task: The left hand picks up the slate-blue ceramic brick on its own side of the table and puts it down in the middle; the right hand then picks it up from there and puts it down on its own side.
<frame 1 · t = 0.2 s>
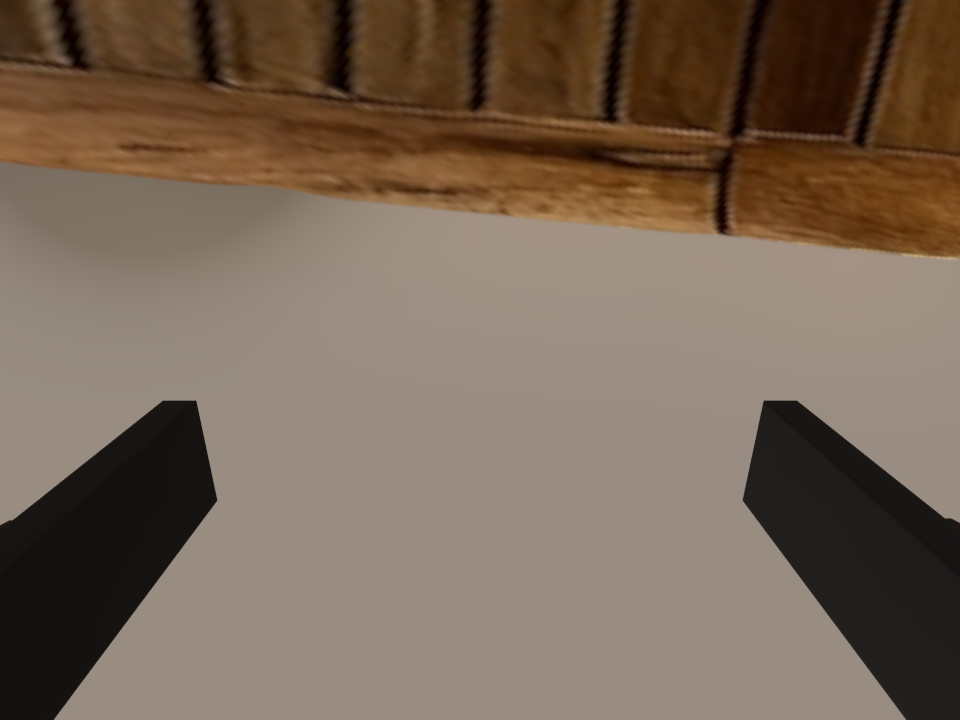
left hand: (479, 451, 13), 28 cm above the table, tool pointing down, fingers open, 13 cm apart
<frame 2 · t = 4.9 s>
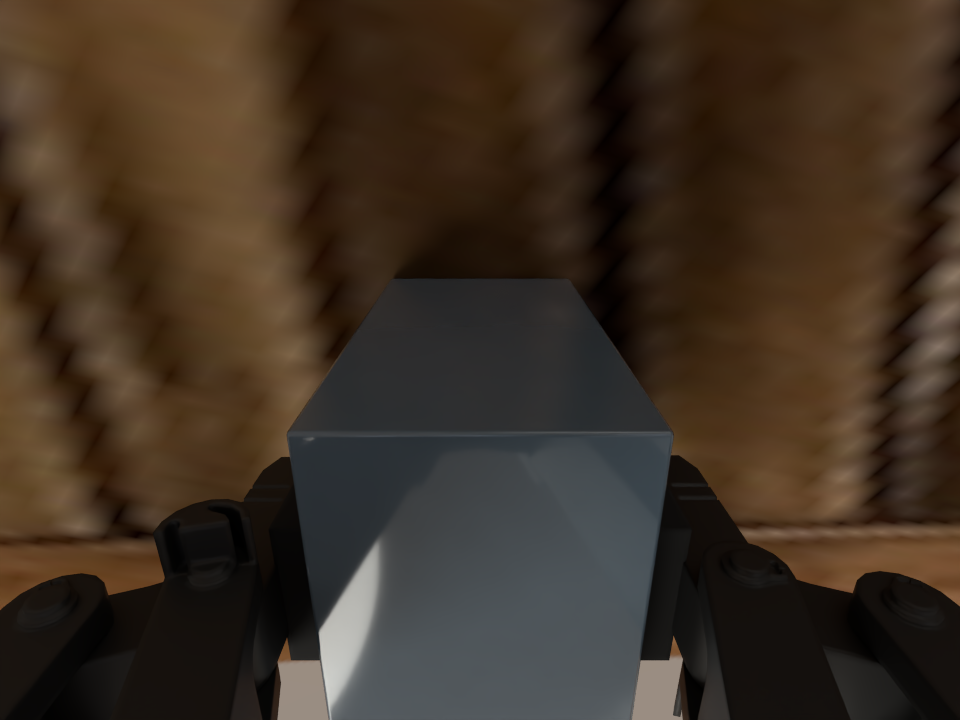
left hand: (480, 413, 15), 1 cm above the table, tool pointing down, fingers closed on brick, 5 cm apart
brick: (480, 391, 16), on the table, touching left hand
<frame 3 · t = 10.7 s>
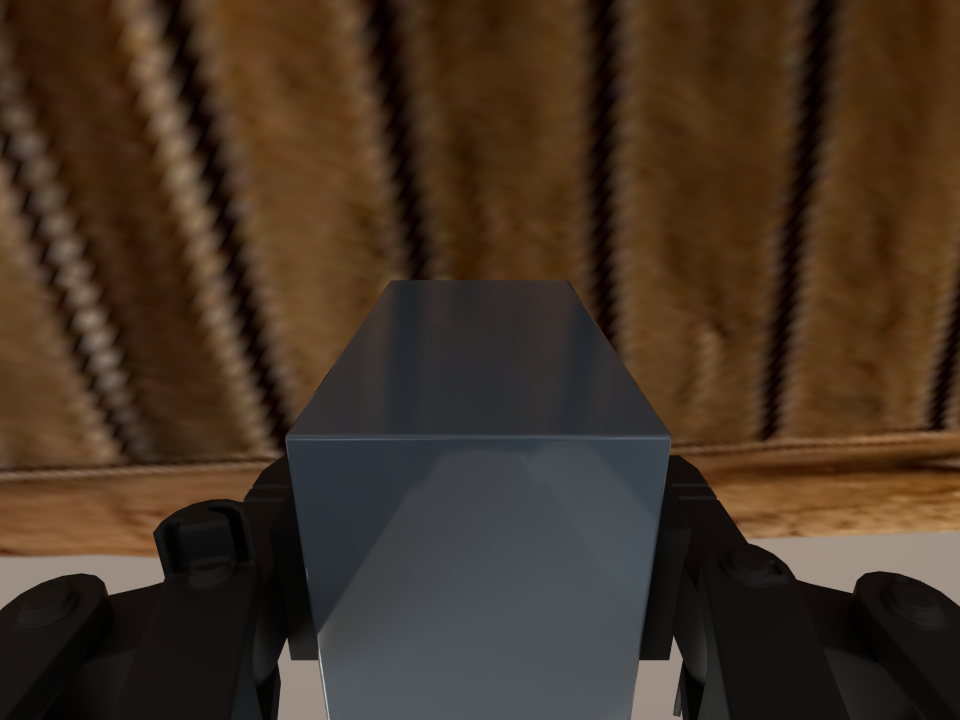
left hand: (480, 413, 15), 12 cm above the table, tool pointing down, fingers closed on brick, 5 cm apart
brick: (479, 392, 16), point 11 cm above the table, touching left hand
when the left hand's fingers open (3 cm above the table, at t = 16.6 s): brick drops 2 cm, on the table.
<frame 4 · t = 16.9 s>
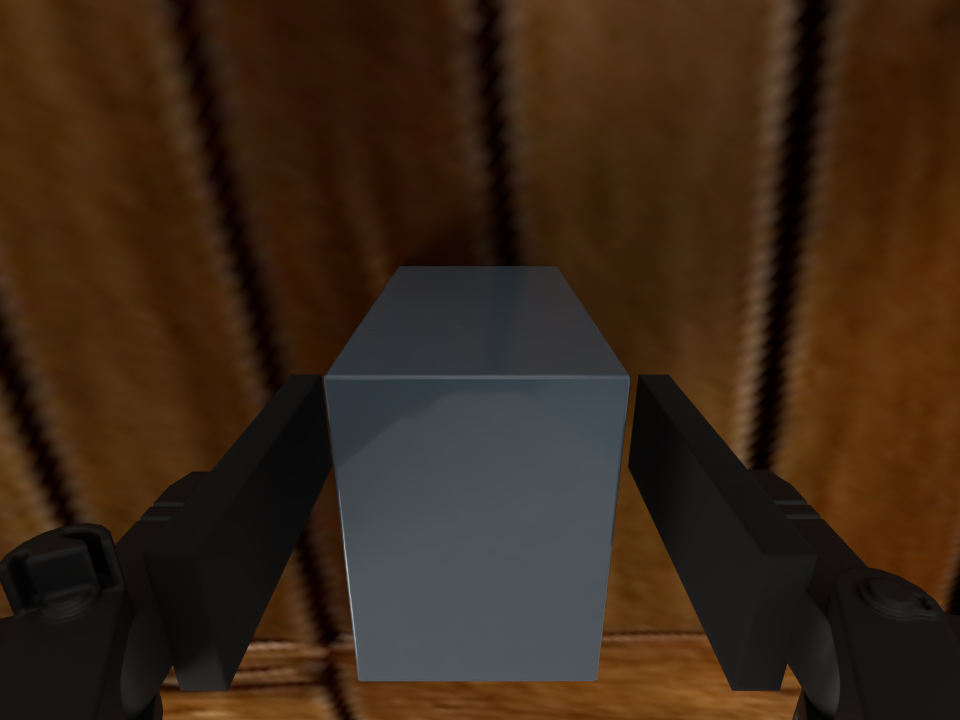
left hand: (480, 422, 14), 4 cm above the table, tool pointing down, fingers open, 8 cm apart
brick: (478, 368, 18), on the table
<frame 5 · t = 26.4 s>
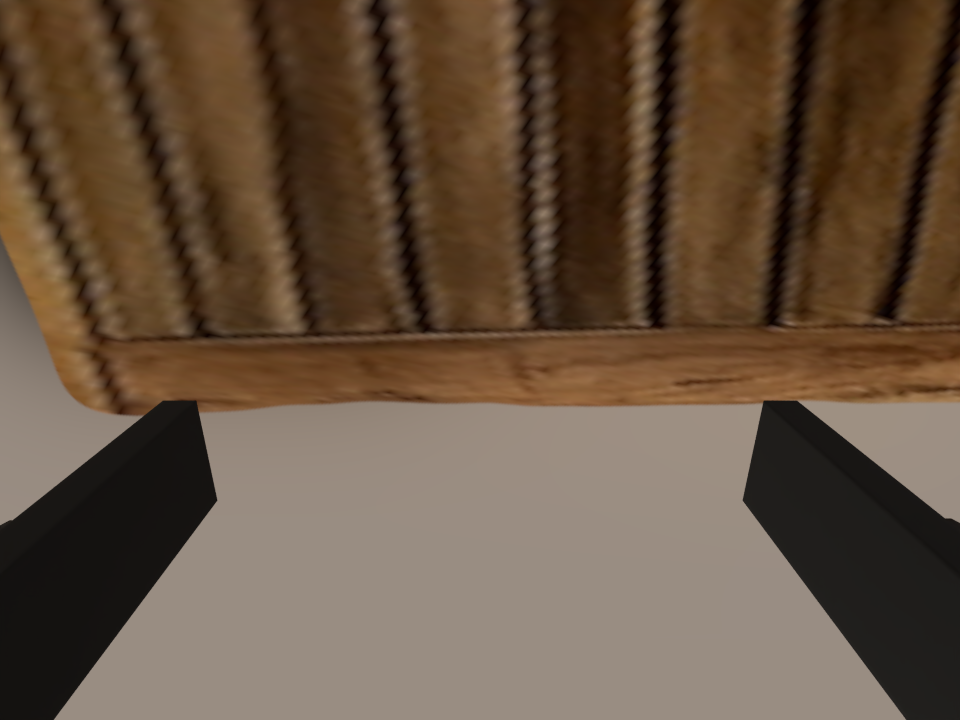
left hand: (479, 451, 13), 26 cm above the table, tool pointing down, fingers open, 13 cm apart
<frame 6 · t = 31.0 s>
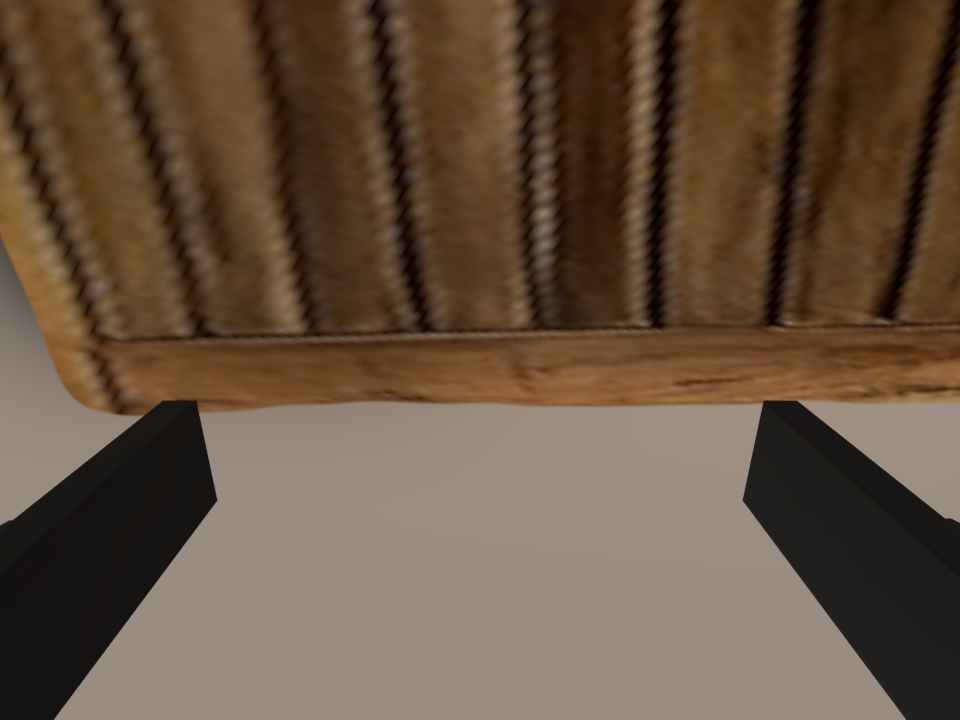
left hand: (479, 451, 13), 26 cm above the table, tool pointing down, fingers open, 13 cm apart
when the right hand's fingers open (3 cm above the table, at t = 35.7 s): brick drops 2 cm, on the table.
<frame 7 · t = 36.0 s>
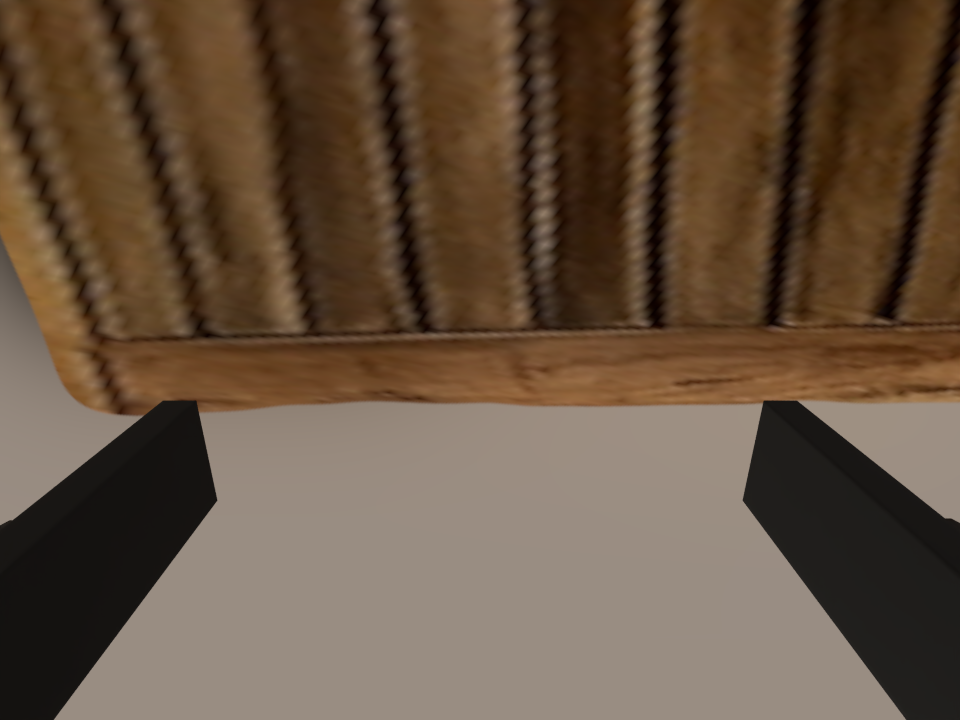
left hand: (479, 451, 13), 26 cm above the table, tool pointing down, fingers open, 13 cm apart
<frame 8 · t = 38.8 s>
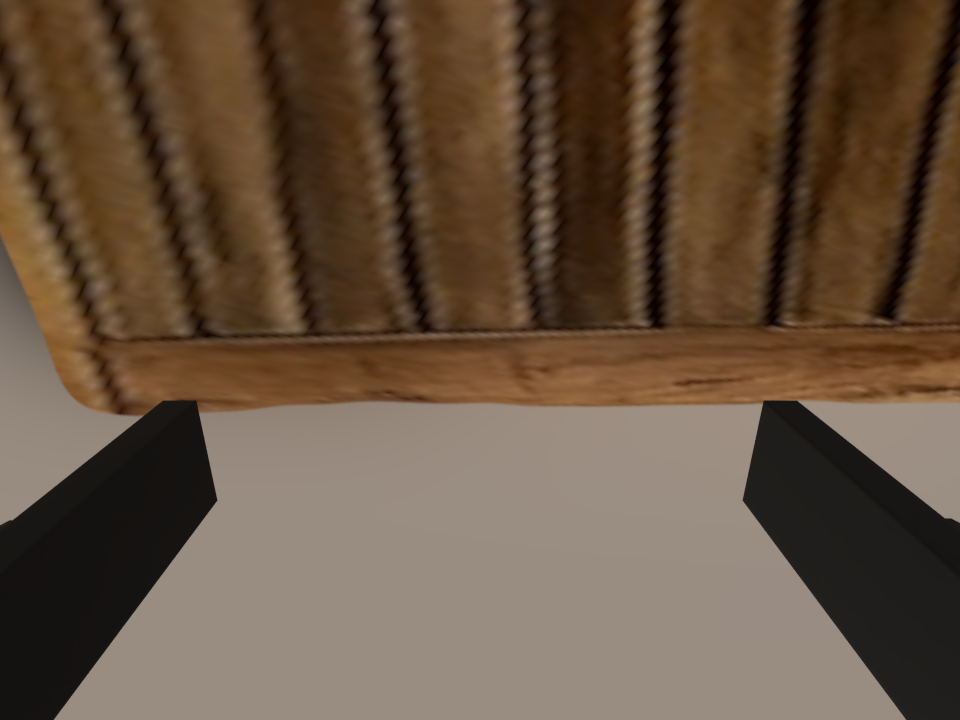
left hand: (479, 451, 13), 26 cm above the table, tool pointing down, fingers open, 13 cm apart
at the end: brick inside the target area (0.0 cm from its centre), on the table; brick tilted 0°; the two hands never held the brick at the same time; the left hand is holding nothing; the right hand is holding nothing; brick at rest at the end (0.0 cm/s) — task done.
